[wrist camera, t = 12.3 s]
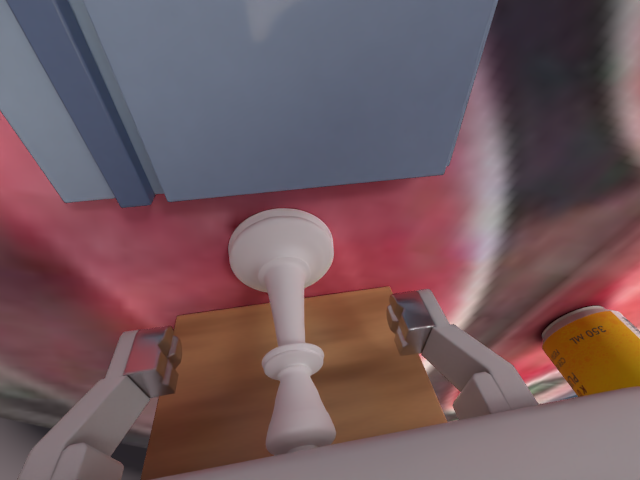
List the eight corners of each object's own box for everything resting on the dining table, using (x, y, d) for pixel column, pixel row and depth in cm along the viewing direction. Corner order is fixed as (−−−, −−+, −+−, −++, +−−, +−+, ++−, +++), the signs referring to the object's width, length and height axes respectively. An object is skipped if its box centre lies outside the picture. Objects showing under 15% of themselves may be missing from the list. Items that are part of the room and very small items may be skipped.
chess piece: (345, 214, 14) (452, 500, 6) (318, 285, 17) (370, 535, 9) (232, 200, 12) (200, 548, 5) (225, 281, 15) (198, 571, 8)
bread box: (168, 312, 16) (97, 599, 9) (395, 281, 18) (497, 507, 10) (206, 375, 21) (181, 591, 14) (380, 347, 23) (440, 530, 15)
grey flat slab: (-167, -179, 6) (-264, -212, 5) (525, -159, 7) (572, -182, 6) (74, 191, 11) (55, 215, 10) (439, 157, 13) (457, 175, 11)
